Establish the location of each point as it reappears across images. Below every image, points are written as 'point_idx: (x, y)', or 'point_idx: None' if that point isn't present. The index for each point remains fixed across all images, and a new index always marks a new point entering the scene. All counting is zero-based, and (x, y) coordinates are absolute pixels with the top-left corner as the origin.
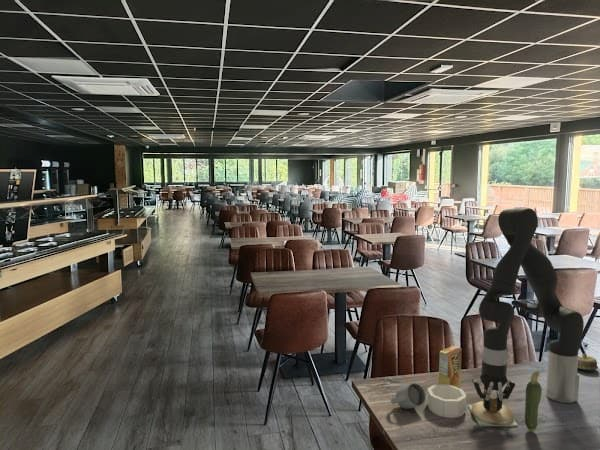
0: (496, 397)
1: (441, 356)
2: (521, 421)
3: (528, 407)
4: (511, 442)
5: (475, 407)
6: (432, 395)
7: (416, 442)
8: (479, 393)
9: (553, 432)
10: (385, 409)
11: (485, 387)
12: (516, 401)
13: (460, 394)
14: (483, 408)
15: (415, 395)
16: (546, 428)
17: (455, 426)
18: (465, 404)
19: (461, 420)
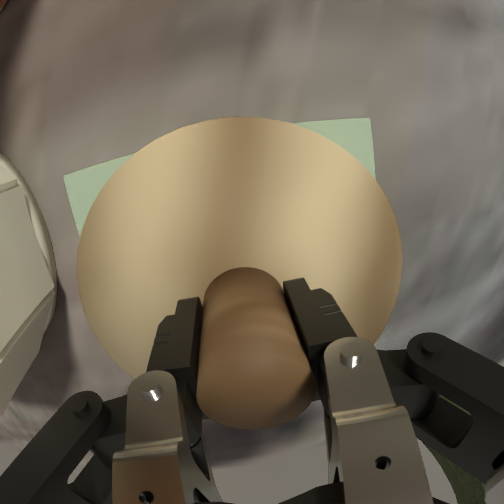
0: (309, 375)
1: None
2: (410, 292)
3: (444, 472)
4: (284, 449)
5: (105, 276)
6: None
7: (15, 447)
8: (95, 488)
9: (475, 337)
10: None
11: (141, 498)
12: (451, 35)
13: None
14: (170, 278)
15: None
16: (473, 317)
17: (58, 399)
18: (29, 328)
19: (63, 357)
